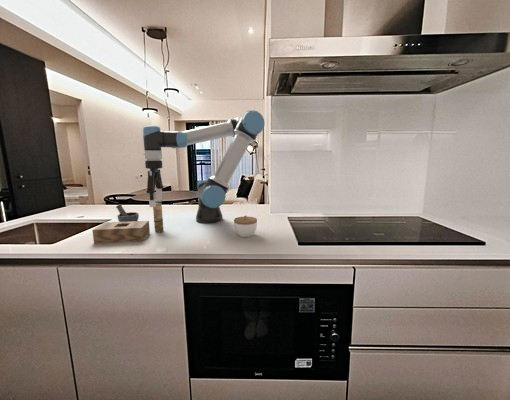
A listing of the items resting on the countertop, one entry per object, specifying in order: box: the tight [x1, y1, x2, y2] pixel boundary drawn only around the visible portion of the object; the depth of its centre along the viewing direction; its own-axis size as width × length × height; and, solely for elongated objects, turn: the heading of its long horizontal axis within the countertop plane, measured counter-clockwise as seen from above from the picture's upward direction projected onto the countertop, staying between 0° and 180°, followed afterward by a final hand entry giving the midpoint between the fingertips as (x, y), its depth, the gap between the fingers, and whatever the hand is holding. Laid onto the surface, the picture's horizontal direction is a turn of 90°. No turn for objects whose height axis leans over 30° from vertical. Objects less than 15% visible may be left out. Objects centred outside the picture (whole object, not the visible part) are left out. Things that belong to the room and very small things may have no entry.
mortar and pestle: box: [115, 203, 140, 222], centre depth 133 cm, size 11×9×12 cm
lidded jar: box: [233, 215, 258, 238], centre depth 118 cm, size 11×11×9 cm
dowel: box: [152, 202, 164, 233], centre depth 125 cm, size 4×4×14 cm
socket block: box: [91, 220, 151, 244], centre depth 116 cm, size 20×12×6 cm, turn 98°
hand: (156, 204), depth 124 cm, fingers open, 13 cm apart
